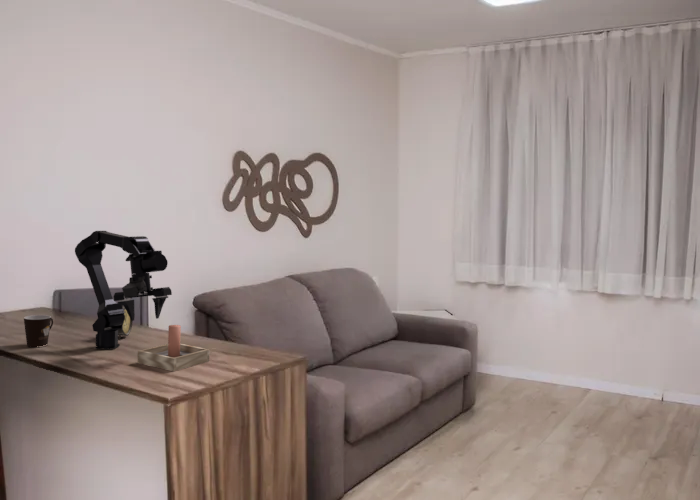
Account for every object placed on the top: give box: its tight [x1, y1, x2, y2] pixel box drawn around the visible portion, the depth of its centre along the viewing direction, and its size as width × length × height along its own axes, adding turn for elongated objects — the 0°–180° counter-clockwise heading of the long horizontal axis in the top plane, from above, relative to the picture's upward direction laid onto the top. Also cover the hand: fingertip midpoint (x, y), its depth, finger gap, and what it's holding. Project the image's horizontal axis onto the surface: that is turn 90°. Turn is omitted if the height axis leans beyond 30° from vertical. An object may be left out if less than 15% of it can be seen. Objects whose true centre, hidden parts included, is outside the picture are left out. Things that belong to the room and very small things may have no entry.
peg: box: [167, 324, 182, 358], centre depth 203 cm, size 4×4×12 cm
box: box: [137, 343, 211, 372], centre depth 204 cm, size 16×16×4 cm
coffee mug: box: [23, 314, 54, 348], centre depth 219 cm, size 12×9×10 cm
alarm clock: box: [118, 305, 133, 341], centre depth 235 cm, size 11×5×16 cm, turn 179°
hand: (145, 319), depth 210 cm, fingers open, 9 cm apart
